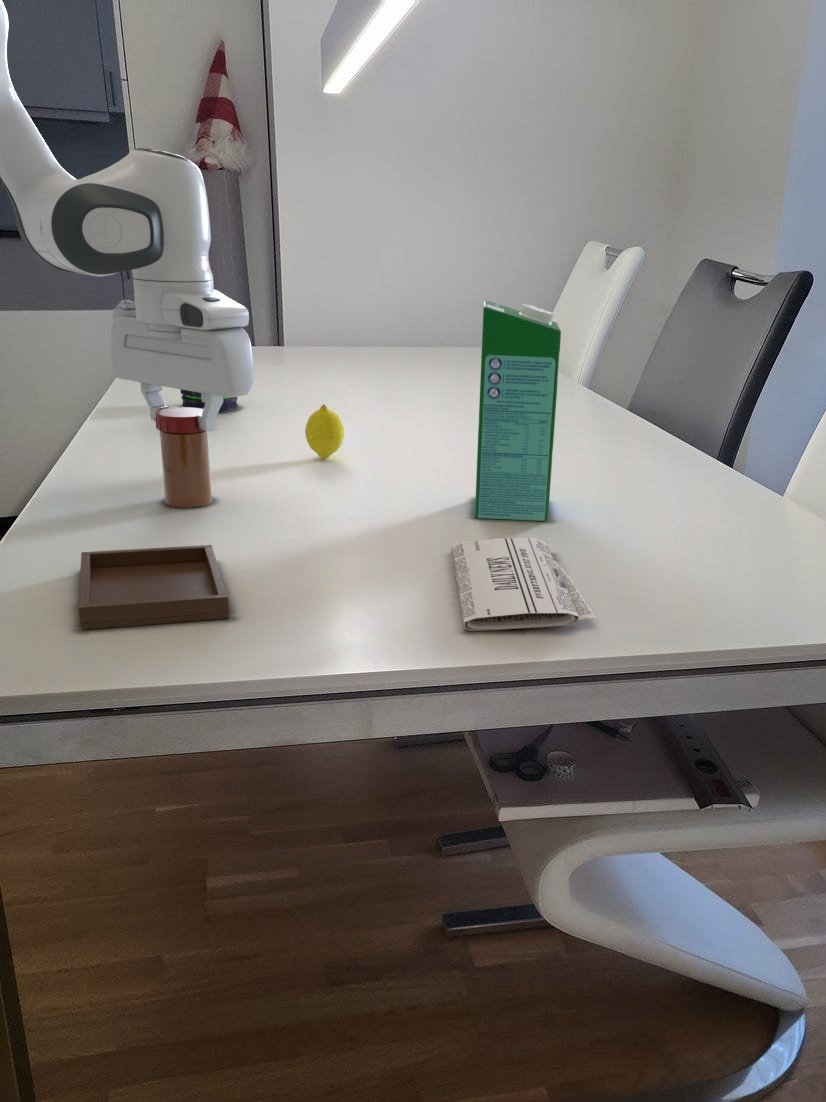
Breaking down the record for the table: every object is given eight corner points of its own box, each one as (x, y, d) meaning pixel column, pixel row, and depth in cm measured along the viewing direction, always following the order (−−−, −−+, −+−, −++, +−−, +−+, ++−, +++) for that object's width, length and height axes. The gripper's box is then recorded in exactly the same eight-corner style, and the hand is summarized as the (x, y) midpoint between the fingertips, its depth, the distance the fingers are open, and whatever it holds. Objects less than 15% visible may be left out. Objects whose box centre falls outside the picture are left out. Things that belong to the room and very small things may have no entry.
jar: (155, 502, 127) (148, 416, 123) (189, 493, 132) (183, 409, 127) (188, 510, 125) (182, 422, 120) (221, 501, 129) (216, 416, 125)
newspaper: (598, 632, 94) (597, 607, 93) (465, 643, 94) (463, 618, 93) (561, 552, 115) (560, 531, 114) (452, 561, 115) (450, 539, 114)
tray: (83, 571, 103) (81, 552, 102) (212, 563, 107) (211, 544, 106) (81, 630, 90) (78, 607, 89) (229, 618, 94) (228, 596, 93)
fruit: (322, 465, 148) (321, 409, 145) (298, 458, 152) (296, 403, 149) (351, 459, 152) (351, 405, 149) (327, 453, 156) (326, 399, 153)
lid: (145, 428, 123) (143, 412, 123) (184, 420, 128) (183, 405, 128) (182, 435, 121) (181, 419, 120) (221, 427, 126) (220, 412, 125)
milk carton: (547, 521, 127) (562, 309, 117) (474, 518, 127) (483, 305, 117) (544, 502, 135) (558, 302, 126) (475, 499, 135) (484, 299, 125)
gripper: (91, 299, 121) (103, 417, 127) (219, 315, 112) (226, 442, 117) (133, 296, 126) (143, 410, 132) (259, 311, 117) (264, 433, 122)
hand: (183, 425), depth 124 cm, fingers open, 6 cm apart
